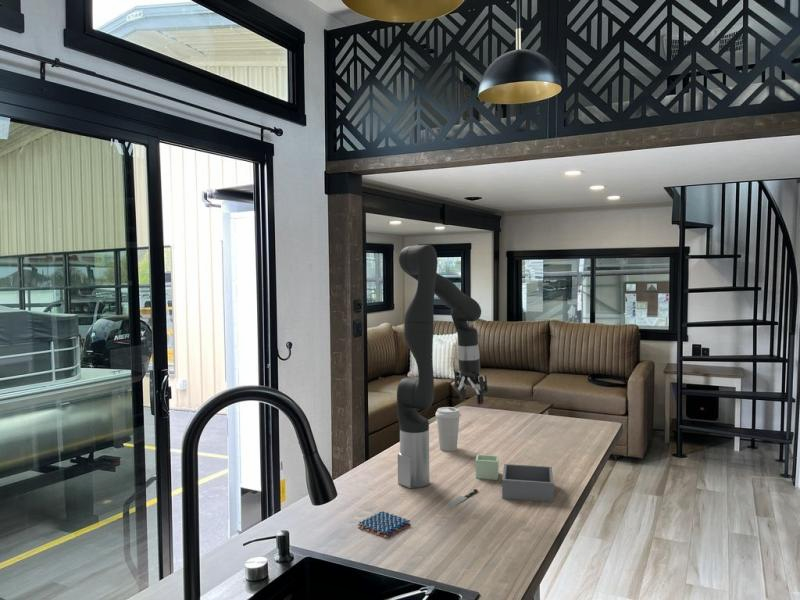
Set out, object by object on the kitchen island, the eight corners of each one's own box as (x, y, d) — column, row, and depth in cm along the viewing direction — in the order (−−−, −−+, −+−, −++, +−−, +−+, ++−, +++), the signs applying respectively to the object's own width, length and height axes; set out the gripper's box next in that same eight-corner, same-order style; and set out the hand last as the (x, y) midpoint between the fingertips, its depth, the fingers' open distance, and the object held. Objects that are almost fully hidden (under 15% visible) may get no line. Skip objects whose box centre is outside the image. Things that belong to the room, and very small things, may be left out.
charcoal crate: (553, 502, 167) (553, 483, 167) (502, 498, 170) (502, 479, 170) (551, 484, 181) (551, 466, 181) (504, 480, 185) (504, 463, 184)
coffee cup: (462, 452, 214) (461, 412, 213) (436, 452, 214) (435, 412, 213) (459, 444, 223) (459, 406, 223) (435, 445, 224) (434, 406, 223)
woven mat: (381, 516, 160) (381, 509, 160) (412, 526, 153) (412, 519, 153) (355, 529, 152) (355, 521, 152) (386, 541, 145) (386, 533, 145)
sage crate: (497, 479, 186) (497, 461, 186) (475, 478, 187) (475, 460, 187) (498, 473, 192) (498, 455, 191) (477, 472, 193) (477, 454, 193)
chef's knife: (435, 512, 163) (444, 514, 161) (435, 508, 163) (444, 510, 161) (470, 490, 178) (478, 492, 176) (469, 486, 178) (478, 488, 176)
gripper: (447, 356, 208) (450, 400, 209) (475, 361, 197) (478, 408, 198) (462, 353, 212) (465, 396, 214) (491, 357, 201) (493, 403, 203)
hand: (471, 402), depth 206 cm, fingers open, 8 cm apart
